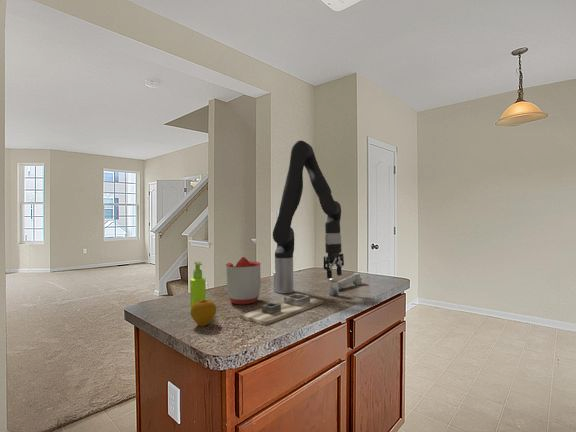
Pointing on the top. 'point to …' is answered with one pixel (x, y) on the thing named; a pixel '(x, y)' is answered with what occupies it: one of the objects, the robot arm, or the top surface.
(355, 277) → the grey piece
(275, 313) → the socket board
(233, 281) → the citrus juicer
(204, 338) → the top surface
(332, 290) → the pipe fitting
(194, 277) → the soap dispenser
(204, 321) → the apple
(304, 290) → the top surface
